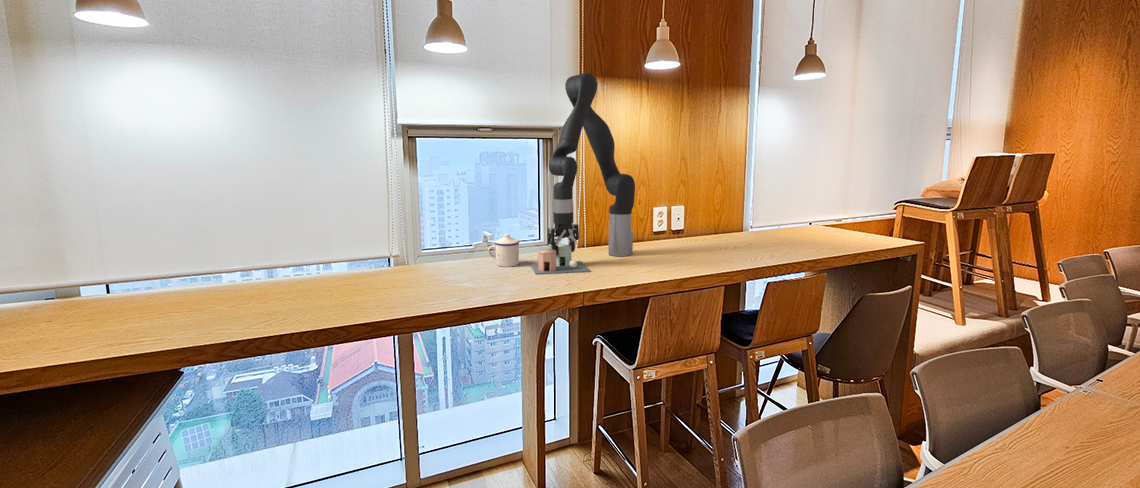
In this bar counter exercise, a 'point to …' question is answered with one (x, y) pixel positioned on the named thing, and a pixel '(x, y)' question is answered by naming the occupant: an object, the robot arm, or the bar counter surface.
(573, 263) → the ivory ball
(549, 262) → the terracotta cup
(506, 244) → the teacup with lid
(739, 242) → the bar counter surface
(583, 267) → the slate mat
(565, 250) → the green piece
